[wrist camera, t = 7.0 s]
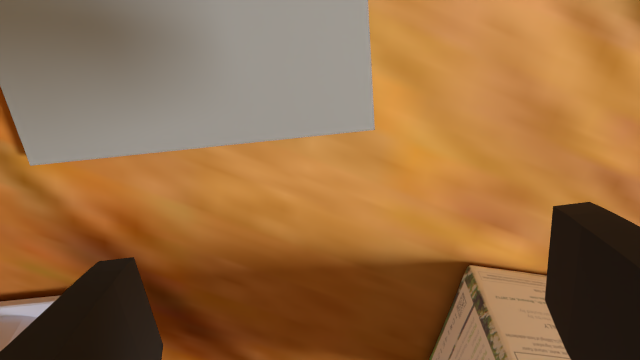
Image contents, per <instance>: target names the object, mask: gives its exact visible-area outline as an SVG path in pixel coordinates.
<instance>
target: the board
mask: <svg viewBox="0 0 640 360" xmlns="http://www.w3.org/2000/svg"><path fill="white" fill-rule="evenodd" d="M0 86H1V89H2V92H3V94H4V97H5V100H6V102H7V105H8V107H9V110H10V113H11V115H12V118H13V121H14V123H15V126H16V129H17V131H18V134H19V137H20V139H21V142H22V145H23V147H24V150H25V153H26V155H27V158H28V160H29V163H30V166H31V165H40V164H50V163H60V162H69V161H79V160H89V159H98V158H108V157H118V156H127V155H137V154H146V153H156V152H166V151H175V150H185V149H195V148H204V147H214V146H223V145H233V144H243V143H252V142H262V141H272V140H281V139H291V138H300V137H310V136H320V135H329V134H339V133H349V132H358V131H368V130H375V127H374V108H373V89H372V70H371V51H370V32H369V13H368V0H0Z"/></svg>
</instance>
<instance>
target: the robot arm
mask: <svg viewBox="0 0 640 360" xmlns="http://www.w3.org/2000/svg"><path fill="white" fill-rule="evenodd" d="M545 302H546V305H547V307H548V309H549V312H550V314H551V317H552V319H553V322H554V324H555V327H556V329H557V331H558V334H559V336H560V338H561V340H562V343H563V345H564V347H565V349H566V352H567V353H568V355H569V357H570V359H571V360H640V227H639V226H637V225H635V224H634V223H632V222H630V221H628V220H626V219H624V218H622V217H620V216H618V215H616V214H614V213H612V212H610V211H608V210H606V209H604V208H602V207H600V206H598V205H595V204H593V203H591V202H585V203H577V204H568V205H560V206H553V215H552V226H551V237H550V248H549V258H548V269H547V280H546V291H545ZM162 350H163V343H162V340H161V337H160V334H159V331H158V328H157V325H156V322H155V319H154V316H153V313H152V310H151V307H150V304H149V301H148V298H147V295H146V292H145V289H144V286H143V283H142V280H141V277H140V274H139V271H138V268H137V265H136V262H135V259H134V257H132V258H123V259H115V260H107V261H99V262H98V263H97V264H95V265H94V266H93V267H92V268H90V269H89V270H88V271H87V272H86V273H85V274H84V275H82V276H81V277H80V278H79V279H78V280H77V281H76V282H75V283H74V284H73V285H72V286H70V287H69V288H68V289H67V290H66V291H65V292H64V293H63V294H62V295H60V296H50V297H40V298H31V299H21V300H11V301H1V302H0V360H161V359H162Z"/></svg>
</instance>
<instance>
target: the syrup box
mask: <svg viewBox="0 0 640 360" xmlns="http://www.w3.org/2000/svg"><path fill="white" fill-rule="evenodd" d="M546 280H547V276H545V275H539V274H531V273H525V272H518V271H510V270H502V269H495V268H487V267H480V266H473V265H470V266H468V267H467V269H466V272H465V274H464V276H463V278H462V281H461V283H460V285H459V289H458V291H457V293H456V296H455V298H454V301H453V303H452V306H451V308H450V311H449V313H448V316H447V318H446V320H445V323H444V326H443V328H442V330H441V333H440V335H439V338H438V340H437V342H436V345H435V347H434V350H433V352H432V354H431V356H430V359H429V360H571V359H570V357H569V355H568V353H567V352H566V349H565V347H564V345H563V343H562V340H561V338H560V336H559V334H558V331H557V329H556V327H555V324H554V322H553V319H552V317H551V314H550V312H549V309H548V307H547V305H546V302H545V291H546Z"/></svg>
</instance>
